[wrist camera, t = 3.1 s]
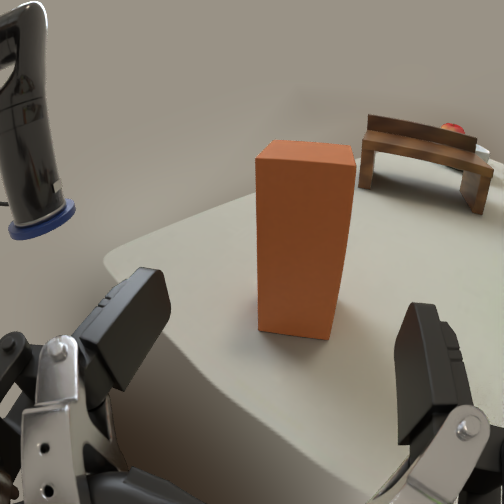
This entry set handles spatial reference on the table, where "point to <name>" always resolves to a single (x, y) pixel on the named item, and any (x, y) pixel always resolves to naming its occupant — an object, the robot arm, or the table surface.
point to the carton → (302, 234)
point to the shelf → (427, 153)
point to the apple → (453, 128)
